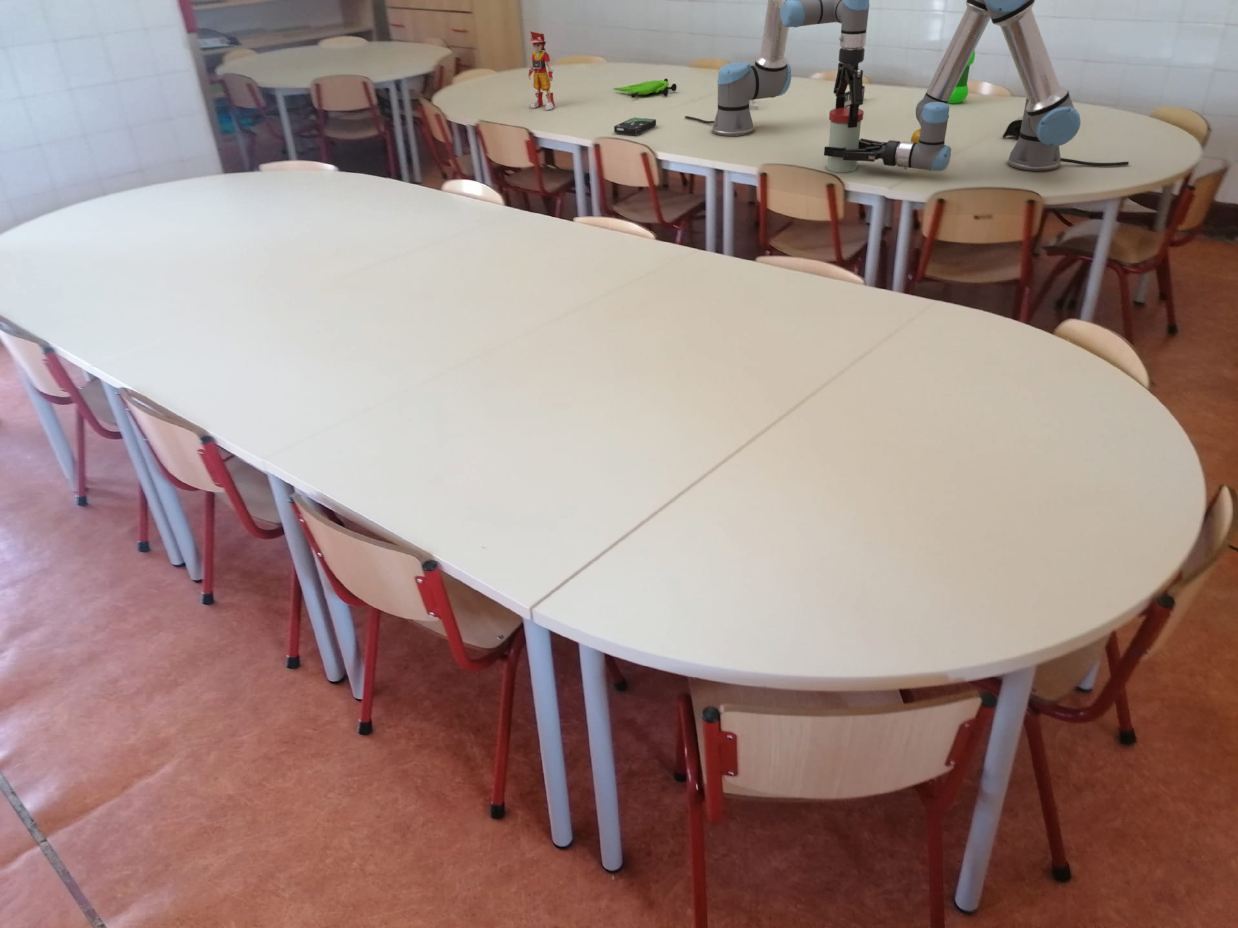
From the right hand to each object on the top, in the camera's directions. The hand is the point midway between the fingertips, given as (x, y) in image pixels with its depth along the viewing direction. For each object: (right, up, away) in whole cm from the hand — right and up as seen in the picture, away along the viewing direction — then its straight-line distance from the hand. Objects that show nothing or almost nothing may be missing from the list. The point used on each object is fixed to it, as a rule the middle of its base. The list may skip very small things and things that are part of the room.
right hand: (830, 147), depth 292 cm
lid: (+3, +8, -8) cm, 12 cm away
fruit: (+35, +3, +13) cm, 37 cm away
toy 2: (-59, +61, +105) cm, 135 cm away
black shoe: (+78, +15, +26) cm, 84 cm away
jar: (+4, -6, +2) cm, 8 cm away
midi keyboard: (+25, +42, +69) cm, 85 cm away
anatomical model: (-18, +43, +75) cm, 89 cm away
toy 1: (-102, +49, +91) cm, 145 cm away
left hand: (+3, +5, -7) cm, 9 cm away
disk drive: (-63, +25, +53) cm, 86 cm away
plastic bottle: (+64, +40, +63) cm, 98 cm away
